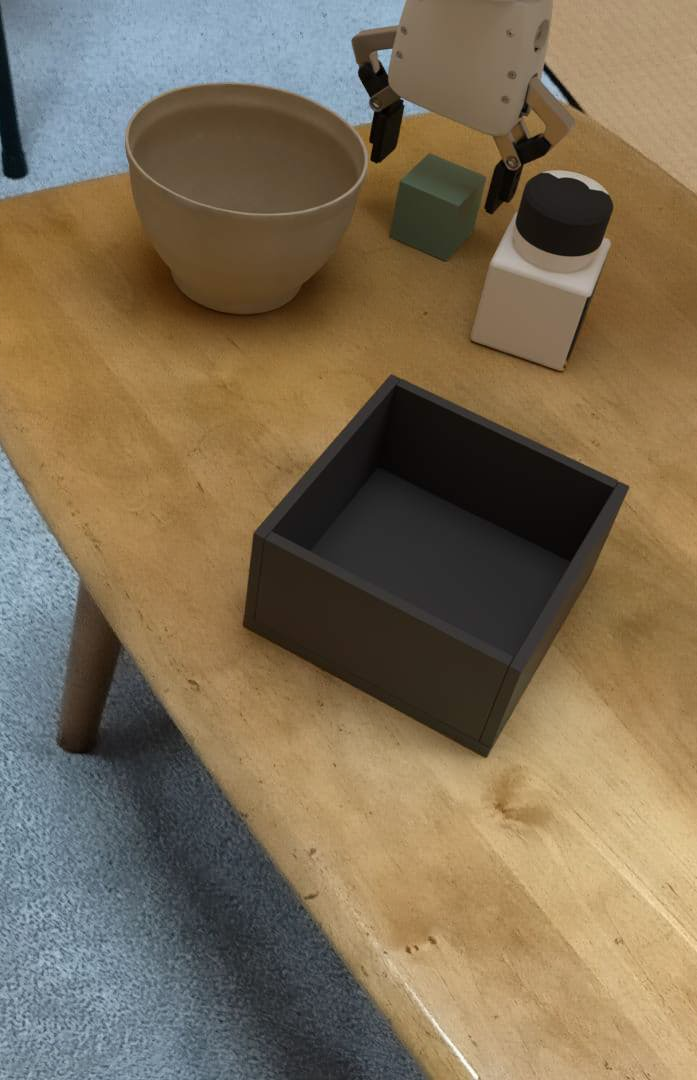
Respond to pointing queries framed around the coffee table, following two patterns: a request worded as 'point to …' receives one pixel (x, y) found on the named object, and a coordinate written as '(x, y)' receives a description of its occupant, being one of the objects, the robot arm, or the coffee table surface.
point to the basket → (430, 559)
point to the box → (437, 206)
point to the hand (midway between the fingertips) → (438, 179)
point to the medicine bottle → (546, 269)
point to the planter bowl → (243, 189)
